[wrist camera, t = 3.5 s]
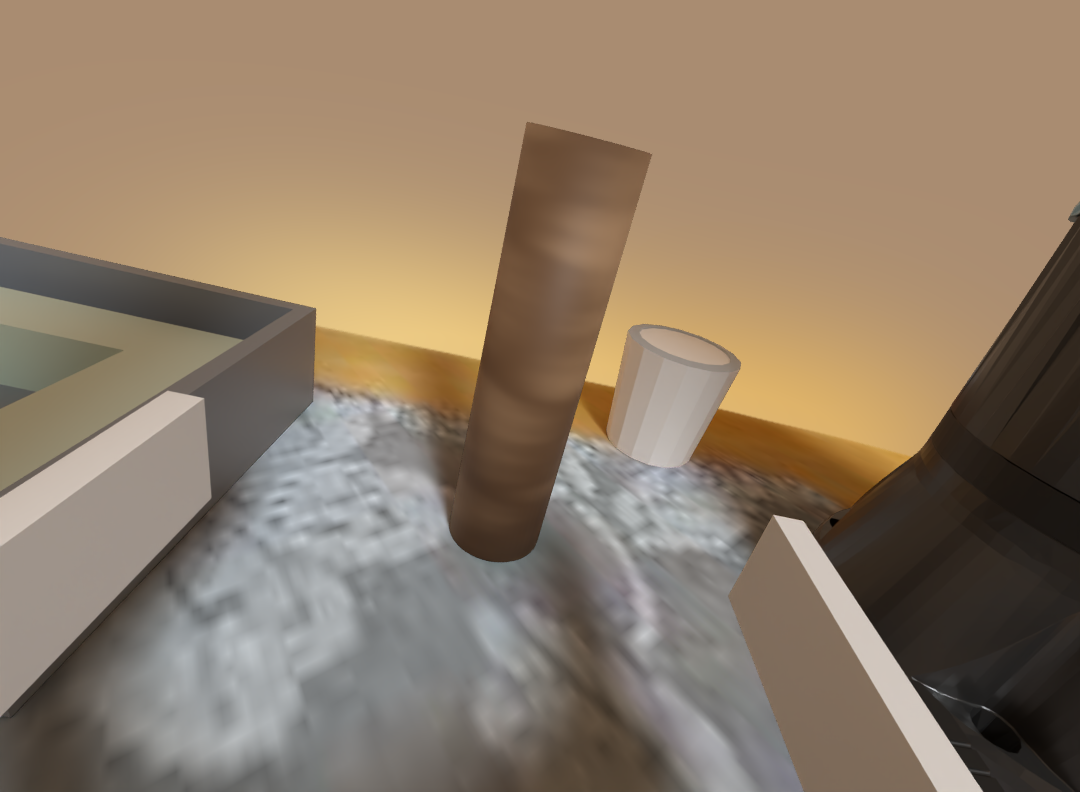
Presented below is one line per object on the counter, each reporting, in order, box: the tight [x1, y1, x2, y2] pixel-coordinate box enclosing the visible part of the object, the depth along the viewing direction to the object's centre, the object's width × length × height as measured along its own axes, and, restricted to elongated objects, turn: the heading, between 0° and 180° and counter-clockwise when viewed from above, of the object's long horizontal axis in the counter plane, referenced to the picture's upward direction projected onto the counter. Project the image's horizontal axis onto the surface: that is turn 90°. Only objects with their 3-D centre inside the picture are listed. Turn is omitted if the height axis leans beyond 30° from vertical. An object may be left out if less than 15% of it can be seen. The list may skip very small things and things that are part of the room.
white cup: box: [606, 324, 741, 468], centre depth 32 cm, size 7×7×7 cm
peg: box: [449, 122, 652, 562], centre depth 19 cm, size 4×4×16 cm
